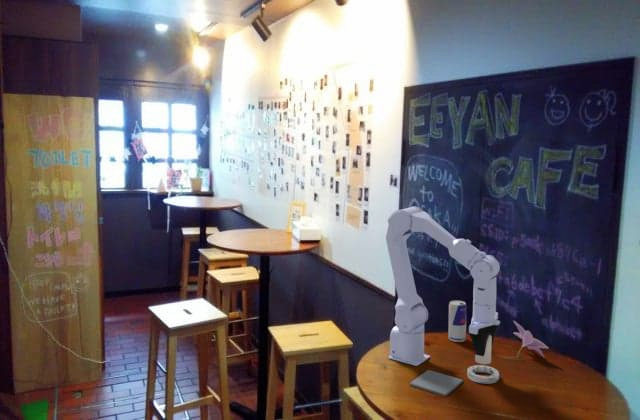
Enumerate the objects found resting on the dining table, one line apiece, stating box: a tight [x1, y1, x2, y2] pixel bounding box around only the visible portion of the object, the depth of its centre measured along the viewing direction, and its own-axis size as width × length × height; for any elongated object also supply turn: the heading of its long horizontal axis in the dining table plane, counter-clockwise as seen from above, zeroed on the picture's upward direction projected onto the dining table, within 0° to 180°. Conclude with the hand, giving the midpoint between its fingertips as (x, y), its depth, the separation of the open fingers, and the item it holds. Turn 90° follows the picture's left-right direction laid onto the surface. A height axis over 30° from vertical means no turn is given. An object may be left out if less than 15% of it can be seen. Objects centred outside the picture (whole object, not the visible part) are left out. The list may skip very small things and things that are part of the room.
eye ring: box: [466, 364, 500, 385], centre depth 139 cm, size 8×8×2 cm
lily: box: [512, 320, 549, 359], centre depth 152 cm, size 12×12×10 cm
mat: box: [409, 369, 464, 397], centre depth 136 cm, size 10×10×1 cm
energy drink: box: [447, 299, 467, 343], centre depth 166 cm, size 5×5×12 cm
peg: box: [474, 335, 492, 365], centre depth 139 cm, size 4×4×7 cm
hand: (483, 352), depth 139 cm, fingers closed on peg, 4 cm apart
